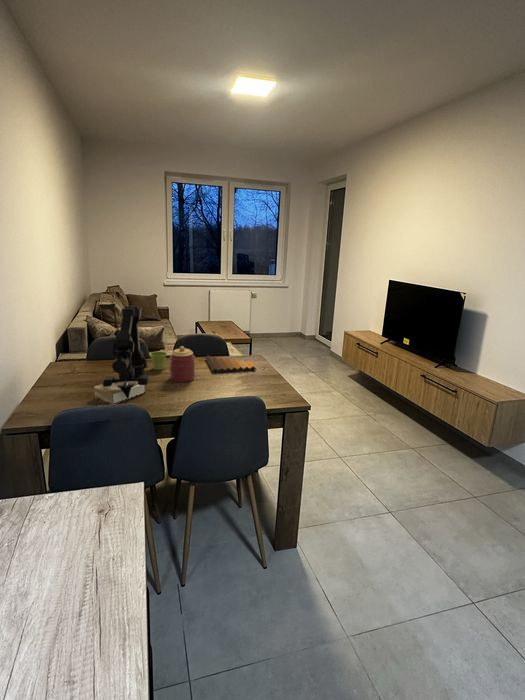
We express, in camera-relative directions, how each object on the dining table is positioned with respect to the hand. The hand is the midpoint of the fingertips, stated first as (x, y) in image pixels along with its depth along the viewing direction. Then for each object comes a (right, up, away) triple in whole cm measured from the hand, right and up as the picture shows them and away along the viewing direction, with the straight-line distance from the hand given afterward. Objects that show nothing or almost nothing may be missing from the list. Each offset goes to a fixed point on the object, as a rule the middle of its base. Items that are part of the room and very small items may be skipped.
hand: (128, 398), depth 178 cm
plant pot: (+2, +11, +46) cm, 47 cm away
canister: (+18, +7, +32) cm, 37 cm away
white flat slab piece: (0, 0, +5) cm, 5 cm away
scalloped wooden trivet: (+41, +12, +57) cm, 71 cm away
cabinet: (-6, +1, +8) cm, 10 cm away
